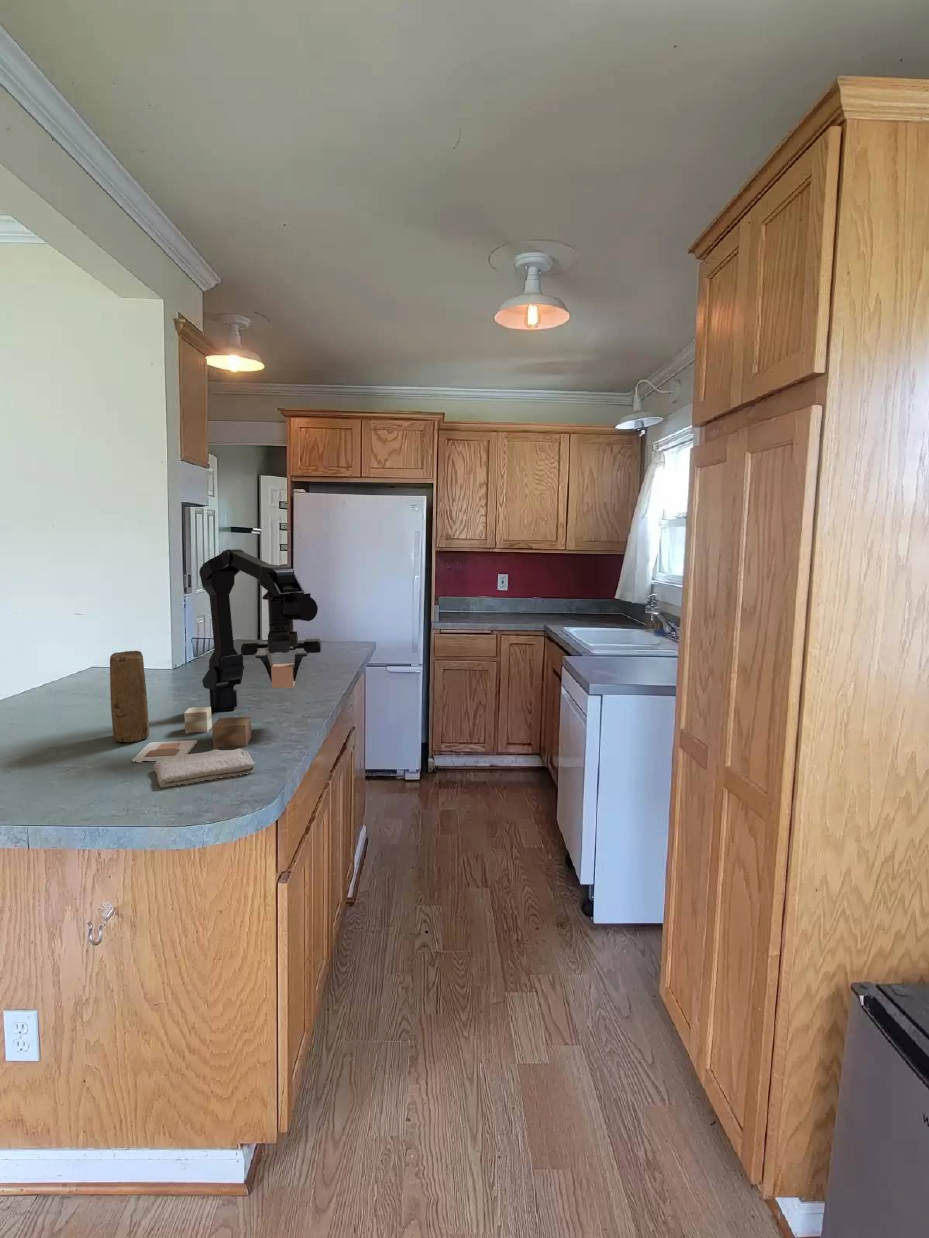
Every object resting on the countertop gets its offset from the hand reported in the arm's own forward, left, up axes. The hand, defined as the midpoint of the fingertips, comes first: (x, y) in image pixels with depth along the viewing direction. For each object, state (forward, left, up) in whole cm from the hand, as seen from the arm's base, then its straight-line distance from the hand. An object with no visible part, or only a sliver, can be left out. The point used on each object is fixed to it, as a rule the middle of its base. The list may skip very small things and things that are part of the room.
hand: (283, 681), depth 165 cm
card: (-23, -19, -11) cm, 32 cm away
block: (-34, -6, -11) cm, 36 cm away
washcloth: (-12, -33, -11) cm, 37 cm away
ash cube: (-20, -2, -11) cm, 23 cm away
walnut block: (-10, -14, -11) cm, 20 cm away
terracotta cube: (0, 0, -1) cm, 1 cm away
